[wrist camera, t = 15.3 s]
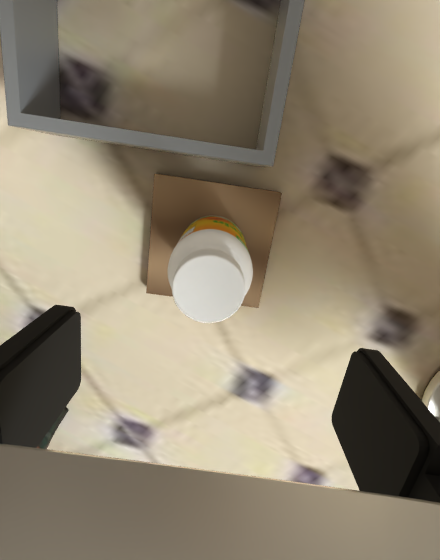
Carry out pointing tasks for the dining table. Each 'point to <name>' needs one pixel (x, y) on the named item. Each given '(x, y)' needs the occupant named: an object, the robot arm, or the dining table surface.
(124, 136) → the bin
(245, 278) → the supplement bottle
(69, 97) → the dining table surface
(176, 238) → the walnut board
